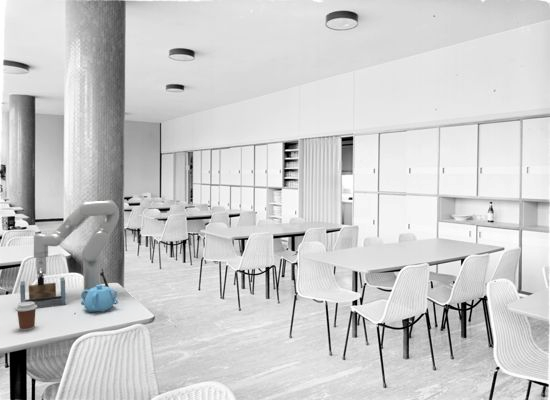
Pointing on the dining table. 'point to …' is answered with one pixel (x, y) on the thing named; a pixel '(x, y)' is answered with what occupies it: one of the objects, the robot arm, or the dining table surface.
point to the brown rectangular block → (42, 290)
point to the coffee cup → (26, 315)
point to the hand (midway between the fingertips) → (40, 283)
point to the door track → (47, 300)
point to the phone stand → (104, 279)
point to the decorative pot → (99, 299)
